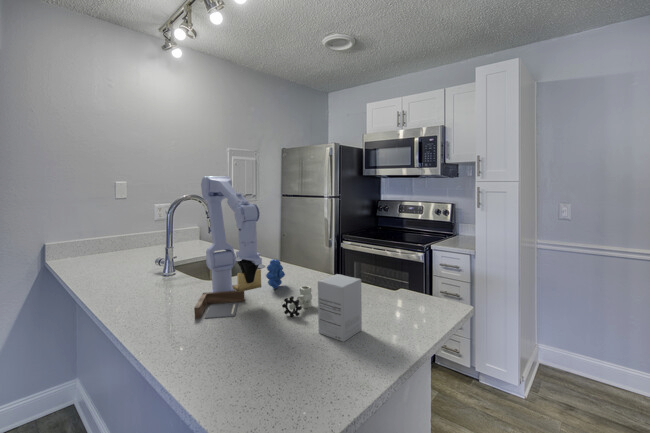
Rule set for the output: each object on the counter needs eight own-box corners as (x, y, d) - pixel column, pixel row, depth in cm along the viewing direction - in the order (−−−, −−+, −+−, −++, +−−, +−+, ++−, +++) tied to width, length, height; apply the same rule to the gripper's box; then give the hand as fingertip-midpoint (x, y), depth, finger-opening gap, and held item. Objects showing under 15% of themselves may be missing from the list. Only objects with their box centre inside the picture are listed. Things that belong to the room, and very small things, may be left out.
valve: (300, 302, 114) (282, 316, 103) (300, 284, 113) (281, 295, 102) (317, 305, 111) (300, 319, 100) (317, 286, 110) (300, 298, 99)
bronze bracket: (239, 292, 106) (238, 274, 105) (232, 288, 110) (232, 270, 109) (261, 287, 111) (260, 269, 110) (254, 283, 115) (253, 266, 114)
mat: (210, 305, 112) (210, 304, 112) (237, 303, 113) (237, 302, 113) (204, 318, 101) (204, 317, 101) (234, 316, 102) (234, 315, 102)
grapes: (278, 294, 122) (278, 262, 121) (262, 292, 124) (261, 261, 123) (291, 284, 133) (290, 255, 132) (276, 283, 135) (275, 254, 134)
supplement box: (337, 322, 98) (336, 273, 96) (362, 330, 92) (362, 278, 91) (317, 333, 91) (316, 280, 89) (343, 342, 85) (343, 287, 84)
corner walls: (203, 302, 115) (203, 292, 114) (244, 299, 117) (244, 290, 117) (194, 318, 101) (194, 307, 101) (241, 315, 103) (241, 304, 103)
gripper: (269, 243, 104) (271, 284, 105) (249, 237, 115) (250, 275, 116) (249, 246, 99) (250, 289, 101) (229, 239, 111) (231, 278, 112)
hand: (249, 282), depth 108 cm, fingers closed on bronze bracket
